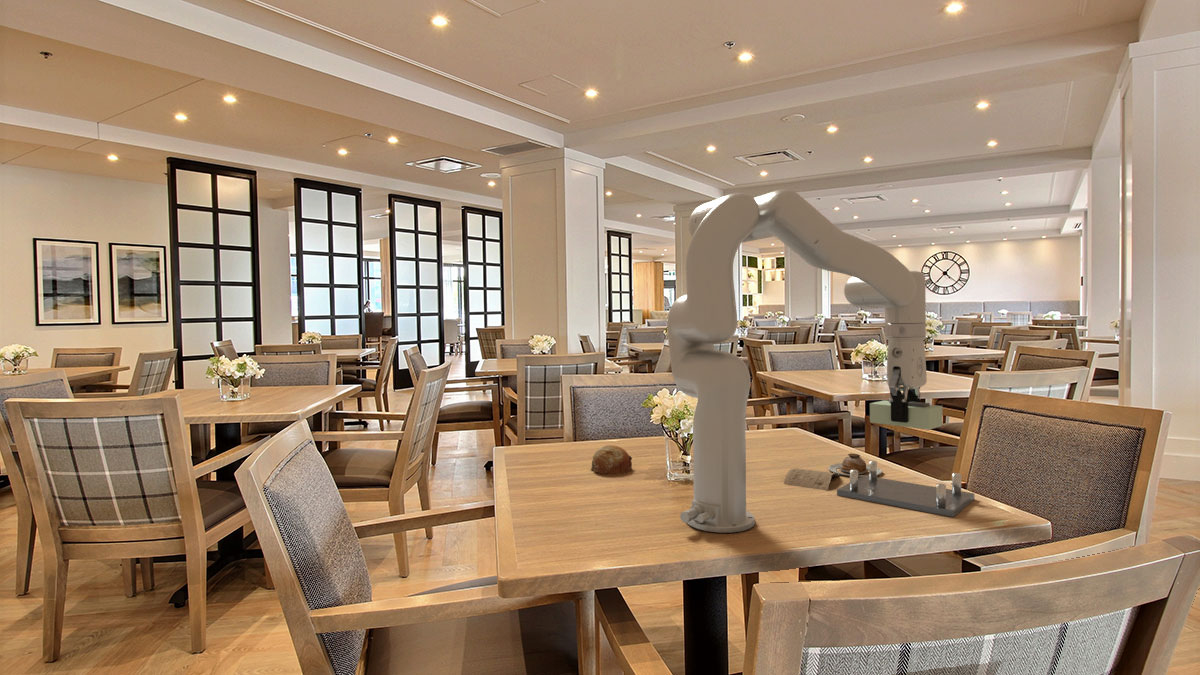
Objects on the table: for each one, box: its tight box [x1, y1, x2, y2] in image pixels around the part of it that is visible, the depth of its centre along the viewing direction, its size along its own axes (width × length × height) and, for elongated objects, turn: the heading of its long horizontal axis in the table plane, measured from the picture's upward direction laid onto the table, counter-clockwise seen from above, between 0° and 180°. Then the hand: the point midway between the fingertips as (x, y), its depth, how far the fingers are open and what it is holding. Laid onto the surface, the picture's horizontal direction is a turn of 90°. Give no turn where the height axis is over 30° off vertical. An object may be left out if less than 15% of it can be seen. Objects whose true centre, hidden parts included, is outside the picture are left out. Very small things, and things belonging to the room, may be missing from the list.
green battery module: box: [869, 398, 943, 431], centre depth 129 cm, size 6×12×5 cm, turn 38°
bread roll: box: [590, 444, 633, 475], centre depth 157 cm, size 10×10×8 cm
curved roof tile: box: [783, 467, 841, 491], centre depth 144 cm, size 14×10×3 cm
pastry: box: [828, 453, 883, 478], centre depth 151 cm, size 12×12×5 cm
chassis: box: [836, 460, 975, 518], centre depth 130 cm, size 15×22×5 cm
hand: (905, 418), depth 129 cm, fingers closed on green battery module, 6 cm apart
